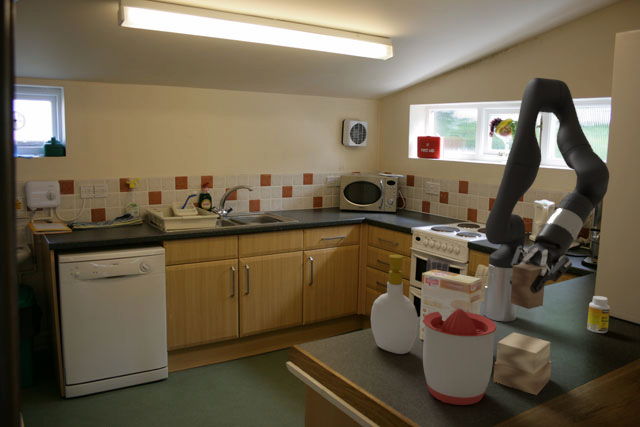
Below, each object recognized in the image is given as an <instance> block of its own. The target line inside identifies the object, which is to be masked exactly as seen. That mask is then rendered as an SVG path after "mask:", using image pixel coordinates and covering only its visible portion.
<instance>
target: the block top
mask: <svg viewBox="0 0 640 427" xmlns="http://www.w3.org/2000/svg"><path fill="white" fill-rule="evenodd" d="M551 343H552V342H550V341H547V340H544V339H541V338H537V337H533V336H530V335H529V336H528V335H524V334H522V333H517V332H515V331H514V332H512V333H510V334H508V335H507V336H505V337H504V338H502V339H501V340H499V341H498V342H497V344H496V345H497V346H496V359H495V360H496V361H495V362H496V363H499V364H503V365H506V366H509V367H512V368H516V369H519V370H522V371H525V372H528V373H532V374H535V373H537V372H538V371H539V370H540V369H541V368H543V367H544V366H545V365H546V364H547V363H549V361H550V354H551Z"/></svg>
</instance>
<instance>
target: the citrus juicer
mask: <svg viewBox="0 0 640 427" xmlns="http://www.w3.org/2000/svg"><path fill="white" fill-rule="evenodd" d="M423 321H424V340H423V344H422V346H423V349H422V364H423V365H422V366H423V371H424V376H425V377H424V378H425V383H426V385H427V389H428V391H429V393H430V394H431V395H432V397H434V398H435V399H437V400H439V401H440V402H442V403H444V404H451V405H456V406H457V405H458V406H467V405H468V406H469V405H474V404H478V403H479V402H480V401H481V400H482V398H483V397H484V395H485V393H486V391H487V390H488V389H487V388H488V384H489V382H490V379H491V375H492V372H493V371H492V370H493V366H494V363H493V360H494V350H495V349H494V348H495V332H496V329H497V324H496V323H495V322H494V320H493V319H490V318H488V317H487V316H485V315H481V314H480V315H478V314H474V313H469V312H464V311H463V310H462V309H457V310H456V311H454V312H453V313H452V314H451V315H450V316H449V317H448V318H447V319H446V320H445V321H443V320H442V315H441V314H440V313H439V312H433V313H430V314H428V315H426V316H425V317H424V319H423Z"/></svg>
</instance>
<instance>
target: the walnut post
mask: <svg viewBox="0 0 640 427" xmlns="http://www.w3.org/2000/svg"><path fill="white" fill-rule="evenodd" d="M541 269H542V268H541V267H540V266H536V265H532V264H531V263H530V264H520V265H514V266H513V273H512V289H511V303H512V304H515V305H517V306H519V307H521V308H525V309H527V310H530V309H534V308H535V309H536V308H539V307H542V306H544V295H545V294H544V293H545V285H544V286H543V287H542V289H541V290H540V291H539V292H537V293H536V294H535V293H533V292H532V291H531V290H530V287H531V285H532V284H533V282H534V281H535V279H536V278H537V276H540V271H541Z"/></svg>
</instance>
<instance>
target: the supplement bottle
mask: <svg viewBox="0 0 640 427" xmlns="http://www.w3.org/2000/svg"><path fill="white" fill-rule="evenodd" d="M608 303H609V298H607V297H606V296H602V295H601V296H600V295H595V296H594V295H593V296H592V301H591V302H589V305H588V315H587V323H586V324H587V325H586V328H587V330H588V331H589V332H592V333H596V334H605V333H607V332H608V330H609V320H610V312H611V306H610V305H609V304H608Z"/></svg>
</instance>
